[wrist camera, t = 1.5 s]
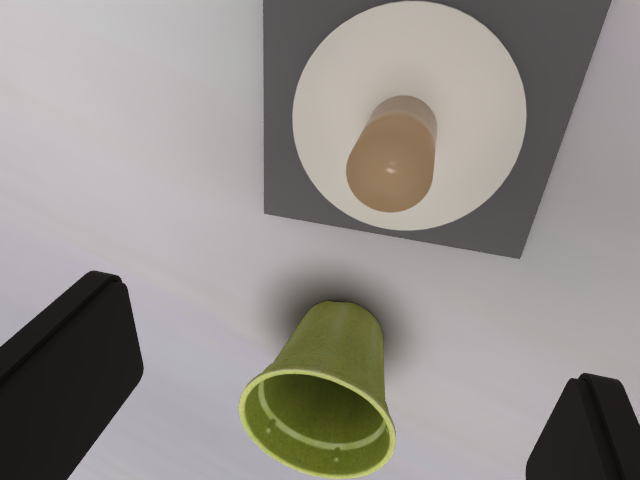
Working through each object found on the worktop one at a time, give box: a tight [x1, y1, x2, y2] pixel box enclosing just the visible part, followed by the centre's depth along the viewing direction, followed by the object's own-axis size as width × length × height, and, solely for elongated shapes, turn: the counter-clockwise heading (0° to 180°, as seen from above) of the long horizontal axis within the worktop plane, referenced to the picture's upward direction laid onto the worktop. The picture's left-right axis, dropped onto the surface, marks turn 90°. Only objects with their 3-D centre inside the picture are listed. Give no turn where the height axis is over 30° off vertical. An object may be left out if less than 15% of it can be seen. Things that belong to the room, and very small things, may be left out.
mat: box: [263, 0, 612, 259], centre depth 24 cm, size 16×16×1 cm
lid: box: [292, 0, 527, 230], centre depth 22 cm, size 12×12×7 cm
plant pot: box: [239, 301, 396, 479], centre depth 30 cm, size 9×9×9 cm
